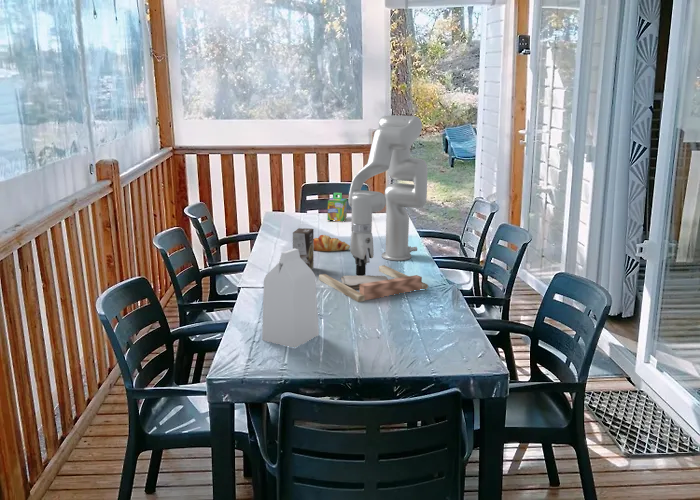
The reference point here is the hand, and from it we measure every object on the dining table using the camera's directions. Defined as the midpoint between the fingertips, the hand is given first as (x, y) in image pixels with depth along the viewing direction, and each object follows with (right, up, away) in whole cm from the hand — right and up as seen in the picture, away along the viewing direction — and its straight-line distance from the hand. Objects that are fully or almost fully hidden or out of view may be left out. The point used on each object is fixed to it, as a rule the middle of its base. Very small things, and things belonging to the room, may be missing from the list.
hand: (360, 275), depth 247 cm
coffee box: (-22, +1, +11) cm, 25 cm away
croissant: (-15, +9, +44) cm, 47 cm away
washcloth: (+2, -4, -6) cm, 8 cm away
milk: (-21, -16, -58) cm, 63 cm away
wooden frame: (+4, -3, -7) cm, 9 cm away
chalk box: (-11, +25, +107) cm, 110 cm away
